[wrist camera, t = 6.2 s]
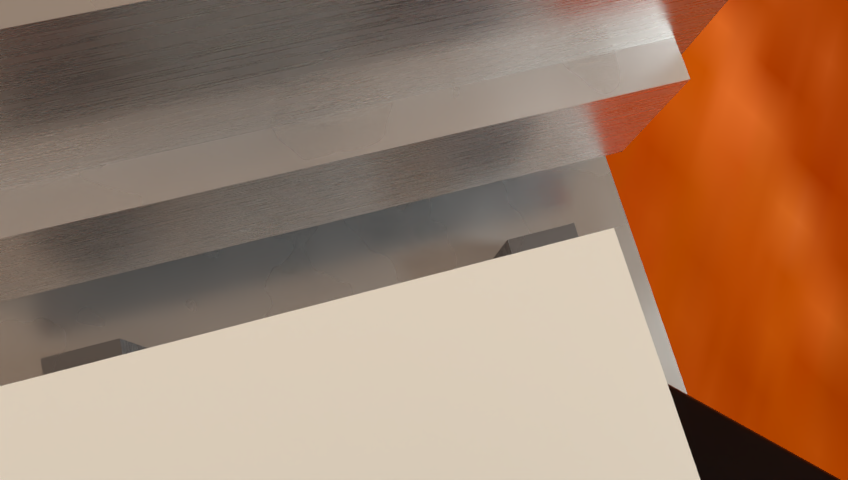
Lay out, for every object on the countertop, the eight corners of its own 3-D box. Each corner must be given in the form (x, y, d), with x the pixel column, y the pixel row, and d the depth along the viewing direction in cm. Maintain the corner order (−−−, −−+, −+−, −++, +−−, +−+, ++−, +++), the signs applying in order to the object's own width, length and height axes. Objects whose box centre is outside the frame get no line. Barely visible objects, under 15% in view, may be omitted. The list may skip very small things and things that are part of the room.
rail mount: (721, 515, 17) (1202, 640, 7) (42, 732, 15) (-571, 1317, 5) (584, 117, 19) (813, -202, 9) (-26, 260, 17) (-550, 43, 7)
